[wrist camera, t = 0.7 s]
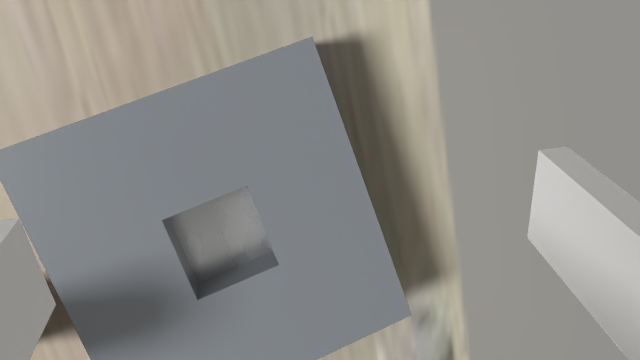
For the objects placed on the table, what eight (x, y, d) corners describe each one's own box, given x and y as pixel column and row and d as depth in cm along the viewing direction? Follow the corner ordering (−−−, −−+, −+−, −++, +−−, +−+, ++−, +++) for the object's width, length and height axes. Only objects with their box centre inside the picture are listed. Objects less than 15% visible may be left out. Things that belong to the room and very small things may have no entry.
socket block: (17, 148, 34) (-13, 154, 29) (298, 46, 37) (312, 36, 33) (142, 403, 38) (133, 445, 33) (387, 291, 41) (411, 314, 36)
